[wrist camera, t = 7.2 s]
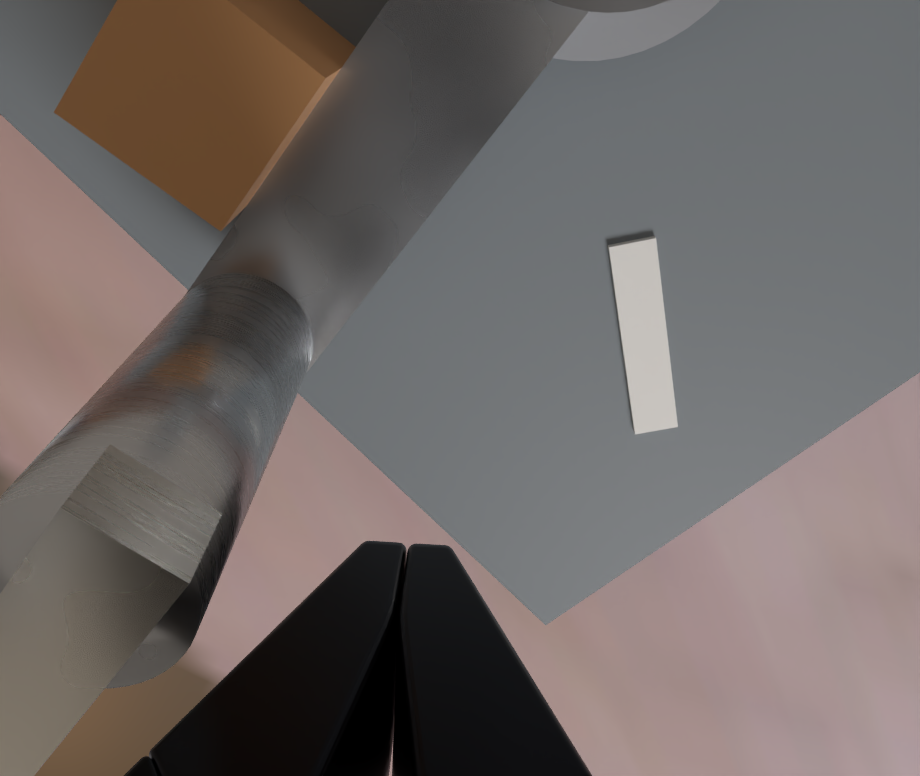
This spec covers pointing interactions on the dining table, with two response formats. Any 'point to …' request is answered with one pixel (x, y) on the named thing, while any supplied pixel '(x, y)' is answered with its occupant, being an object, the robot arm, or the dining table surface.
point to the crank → (241, 362)
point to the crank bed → (548, 247)
